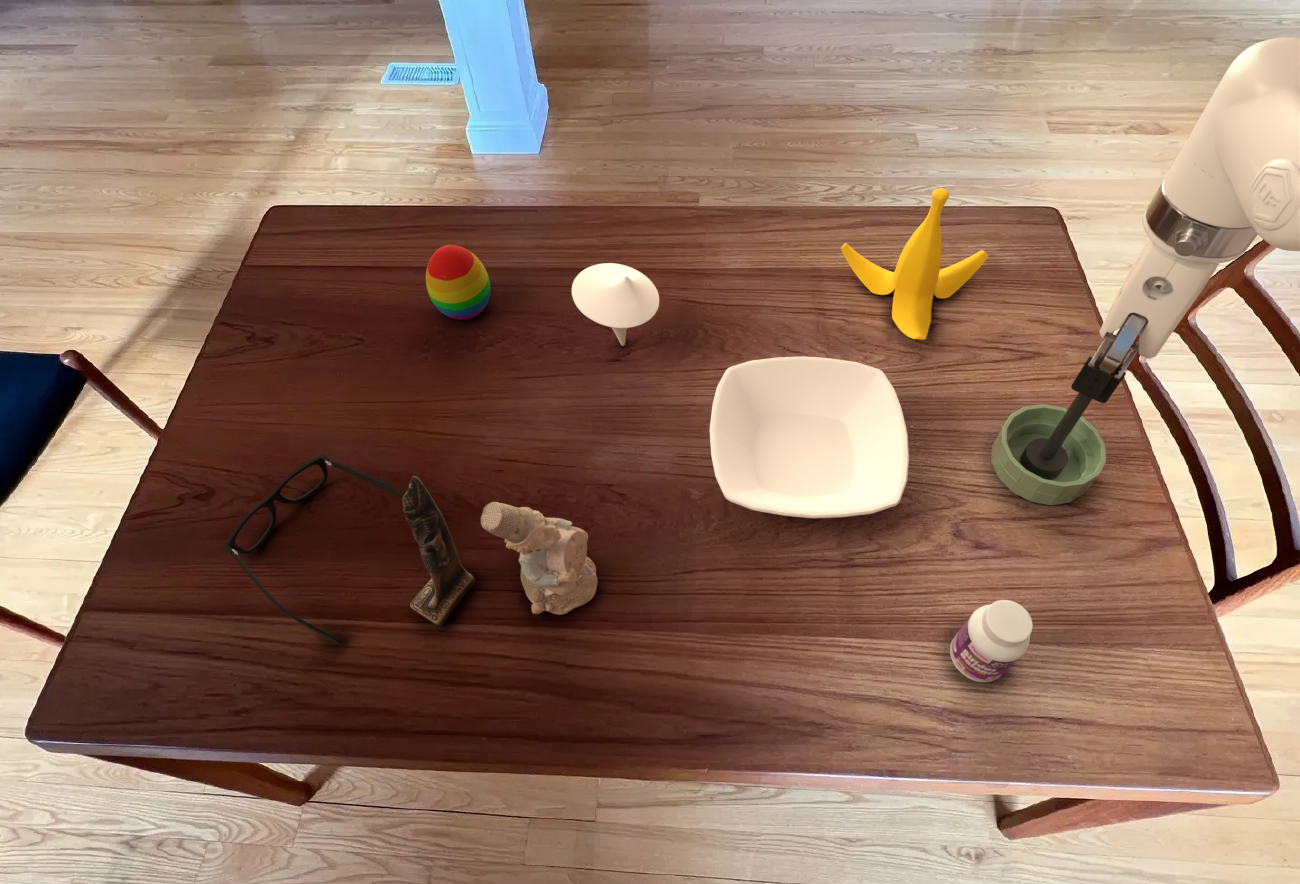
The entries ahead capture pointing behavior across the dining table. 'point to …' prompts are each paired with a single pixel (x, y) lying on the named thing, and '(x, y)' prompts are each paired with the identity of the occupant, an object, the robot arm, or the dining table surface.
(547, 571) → the figurine
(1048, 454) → the disc-footed rod
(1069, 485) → the green round dish
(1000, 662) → the pill bottle
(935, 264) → the banana peel
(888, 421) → the bowl
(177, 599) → the dining table surface
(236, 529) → the glasses
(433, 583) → the statue
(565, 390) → the dining table surface
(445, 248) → the decorative egg
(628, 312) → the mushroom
